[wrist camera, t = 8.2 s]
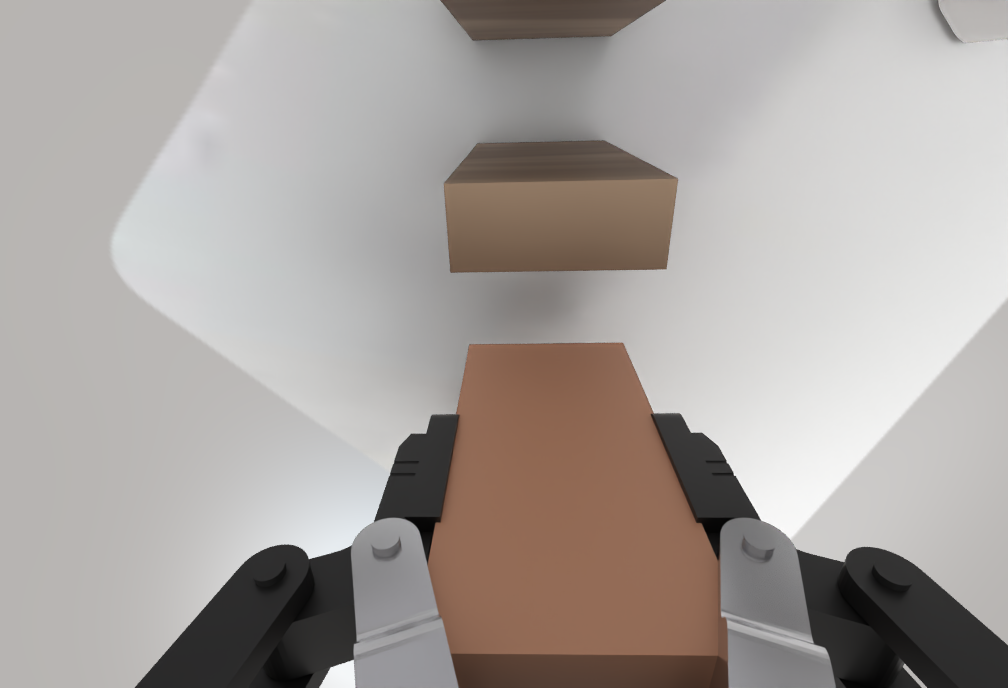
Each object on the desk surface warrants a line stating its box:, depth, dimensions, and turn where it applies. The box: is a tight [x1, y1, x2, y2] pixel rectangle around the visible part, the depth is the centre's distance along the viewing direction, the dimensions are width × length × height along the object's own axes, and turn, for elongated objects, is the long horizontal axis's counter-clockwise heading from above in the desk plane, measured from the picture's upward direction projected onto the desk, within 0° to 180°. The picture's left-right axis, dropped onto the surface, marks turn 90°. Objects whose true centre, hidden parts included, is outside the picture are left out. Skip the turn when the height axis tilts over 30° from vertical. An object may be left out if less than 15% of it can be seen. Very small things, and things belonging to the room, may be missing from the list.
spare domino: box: [427, 343, 718, 688], centre depth 12 cm, size 2×5×10 cm, turn 91°
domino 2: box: [444, 141, 678, 273], centre depth 15 cm, size 2×5×10 cm, turn 91°
